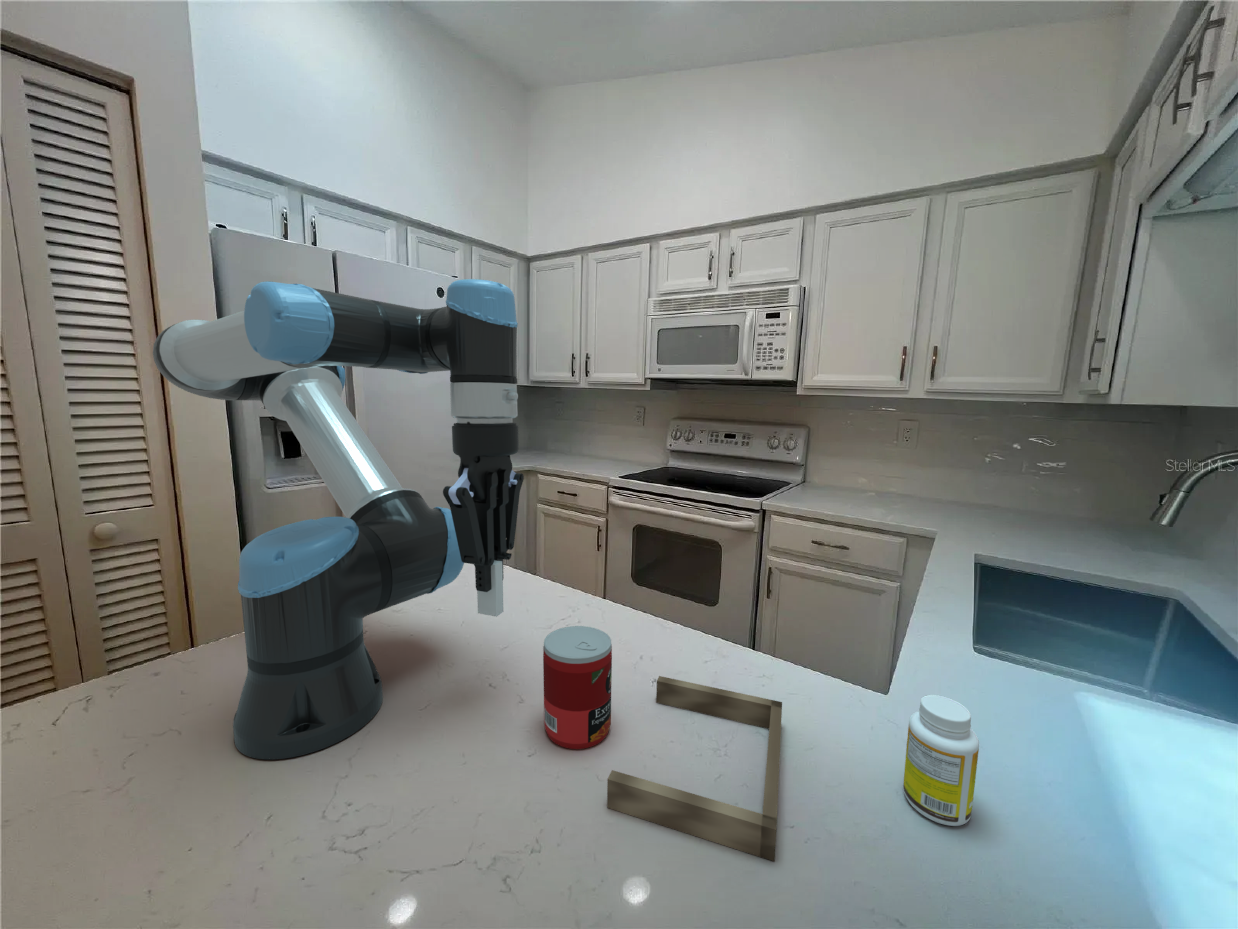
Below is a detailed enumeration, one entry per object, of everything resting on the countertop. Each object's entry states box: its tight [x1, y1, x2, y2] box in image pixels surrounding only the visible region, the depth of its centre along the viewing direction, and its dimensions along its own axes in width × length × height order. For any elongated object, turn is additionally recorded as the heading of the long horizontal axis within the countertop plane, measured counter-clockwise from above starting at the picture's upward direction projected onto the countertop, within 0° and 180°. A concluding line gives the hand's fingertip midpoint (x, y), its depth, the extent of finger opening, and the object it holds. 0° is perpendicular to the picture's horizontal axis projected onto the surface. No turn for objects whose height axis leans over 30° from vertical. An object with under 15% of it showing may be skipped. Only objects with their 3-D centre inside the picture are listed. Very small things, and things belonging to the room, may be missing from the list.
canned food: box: [542, 625, 613, 750], centre depth 56 cm, size 8×8×11 cm
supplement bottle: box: [902, 694, 980, 827], centre depth 46 cm, size 6×6×10 cm
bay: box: [606, 675, 783, 863], centre depth 51 cm, size 15×18×3 cm
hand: (490, 612), depth 59 cm, fingers closed
